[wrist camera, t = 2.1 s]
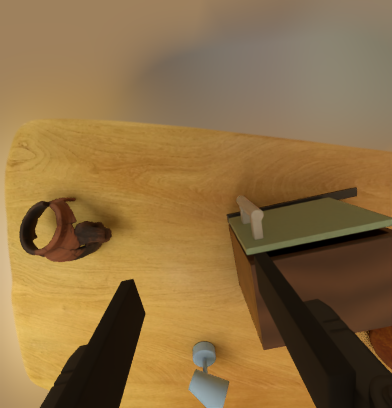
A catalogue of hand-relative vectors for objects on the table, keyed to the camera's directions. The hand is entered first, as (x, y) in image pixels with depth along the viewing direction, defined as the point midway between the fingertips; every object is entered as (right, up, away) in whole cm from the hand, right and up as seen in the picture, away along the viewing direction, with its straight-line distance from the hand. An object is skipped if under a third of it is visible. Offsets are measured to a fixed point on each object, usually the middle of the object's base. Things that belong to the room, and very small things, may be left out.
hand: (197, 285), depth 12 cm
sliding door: (+13, +6, +18) cm, 22 cm away
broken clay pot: (-18, +2, +19) cm, 26 cm away
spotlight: (+2, -25, +27) cm, 36 cm away
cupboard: (+17, -1, +21) cm, 26 cm away
